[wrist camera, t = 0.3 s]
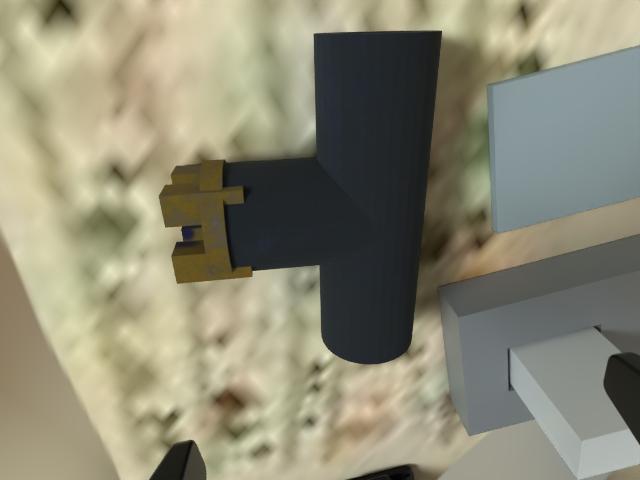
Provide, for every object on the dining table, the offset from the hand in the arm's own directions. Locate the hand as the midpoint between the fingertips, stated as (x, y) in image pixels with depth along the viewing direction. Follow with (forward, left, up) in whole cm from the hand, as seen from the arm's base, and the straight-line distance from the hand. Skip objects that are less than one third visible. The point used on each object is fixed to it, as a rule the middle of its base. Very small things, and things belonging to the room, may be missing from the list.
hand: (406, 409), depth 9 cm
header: (-13, -16, -14) cm, 25 cm away
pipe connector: (0, +1, -15) cm, 15 cm away
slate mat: (-1, -14, -14) cm, 20 cm away
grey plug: (-13, -11, -14) cm, 22 cm away
